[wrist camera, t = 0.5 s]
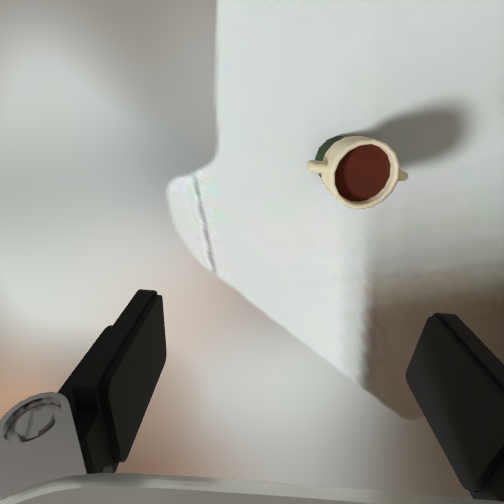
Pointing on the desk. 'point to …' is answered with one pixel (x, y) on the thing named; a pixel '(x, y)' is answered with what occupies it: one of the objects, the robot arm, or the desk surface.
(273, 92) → the desk surface
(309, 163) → the character mug
